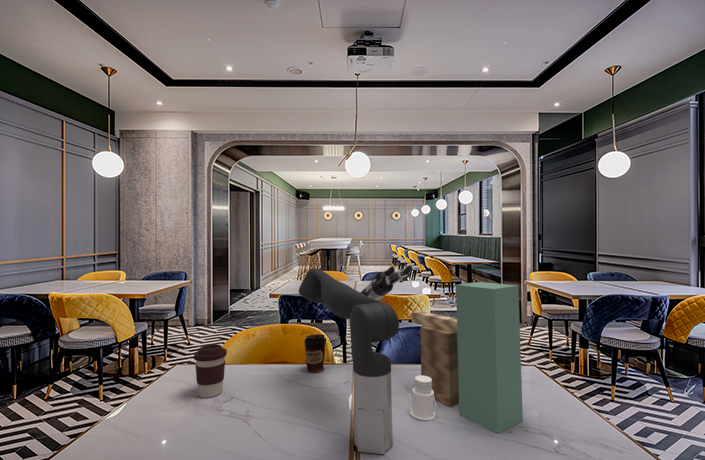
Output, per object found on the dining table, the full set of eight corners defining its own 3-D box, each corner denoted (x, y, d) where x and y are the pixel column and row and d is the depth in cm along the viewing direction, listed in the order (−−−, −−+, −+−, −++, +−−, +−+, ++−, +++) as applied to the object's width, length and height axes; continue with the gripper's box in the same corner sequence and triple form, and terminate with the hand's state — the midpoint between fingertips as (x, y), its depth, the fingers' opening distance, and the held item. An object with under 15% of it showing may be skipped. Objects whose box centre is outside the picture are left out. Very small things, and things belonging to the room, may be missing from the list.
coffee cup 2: (325, 374, 128) (324, 339, 128) (302, 374, 128) (302, 339, 128) (327, 366, 137) (327, 332, 137) (306, 366, 137) (306, 333, 137)
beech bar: (464, 332, 104) (464, 320, 104) (457, 333, 102) (456, 321, 102) (419, 321, 120) (419, 310, 120) (411, 322, 118) (411, 312, 118)
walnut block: (467, 399, 106) (465, 330, 107) (450, 406, 101) (448, 334, 102) (438, 387, 115) (437, 323, 116) (421, 393, 111) (420, 326, 112)
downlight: (404, 416, 96) (405, 380, 96) (412, 405, 102) (413, 371, 102) (433, 424, 92) (434, 386, 93) (439, 412, 99) (440, 377, 99)
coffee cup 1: (204, 403, 106) (204, 353, 107) (187, 395, 112) (187, 348, 113) (232, 391, 114) (232, 345, 115) (215, 384, 120) (216, 341, 121)
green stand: (522, 420, 93) (518, 285, 94) (498, 433, 87) (494, 289, 88) (483, 403, 103) (480, 281, 104) (459, 414, 97) (455, 284, 98)
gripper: (396, 294, 138) (421, 276, 127) (367, 298, 130) (391, 278, 119) (389, 277, 142) (413, 258, 130) (361, 280, 134) (383, 259, 122)
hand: (402, 267), depth 125 cm, fingers open, 8 cm apart
